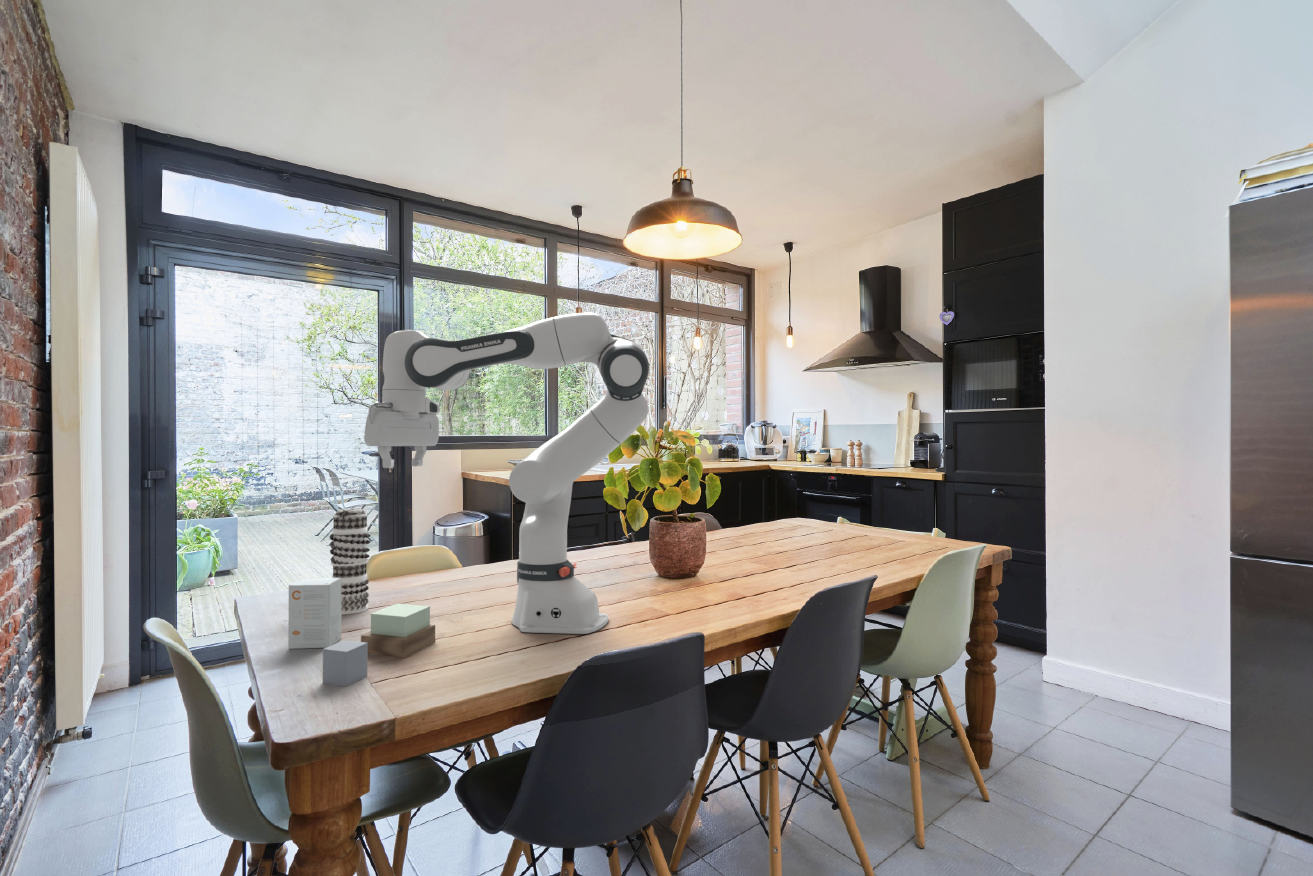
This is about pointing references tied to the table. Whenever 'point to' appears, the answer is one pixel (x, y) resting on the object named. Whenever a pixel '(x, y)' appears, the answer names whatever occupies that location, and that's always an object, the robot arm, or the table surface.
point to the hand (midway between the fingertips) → (403, 467)
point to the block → (345, 662)
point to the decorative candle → (351, 558)
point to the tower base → (399, 643)
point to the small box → (314, 613)
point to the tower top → (400, 620)
